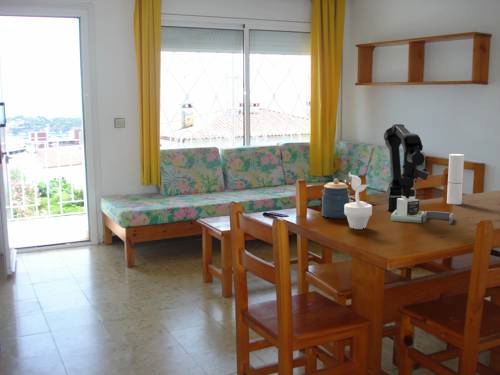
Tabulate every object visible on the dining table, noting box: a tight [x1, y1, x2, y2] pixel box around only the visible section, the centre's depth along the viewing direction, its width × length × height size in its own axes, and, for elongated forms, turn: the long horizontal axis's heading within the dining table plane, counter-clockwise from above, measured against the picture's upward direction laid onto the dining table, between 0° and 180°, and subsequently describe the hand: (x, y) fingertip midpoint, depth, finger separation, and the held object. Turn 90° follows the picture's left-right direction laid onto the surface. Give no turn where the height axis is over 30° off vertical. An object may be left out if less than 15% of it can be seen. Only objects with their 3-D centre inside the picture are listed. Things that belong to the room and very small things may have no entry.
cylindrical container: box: [446, 153, 465, 205], centre depth 303 cm, size 7×7×25 cm
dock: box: [422, 210, 454, 225], centre depth 265 cm, size 12×11×3 cm
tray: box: [390, 210, 425, 224], centre depth 269 cm, size 13×13×2 cm
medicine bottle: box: [397, 187, 420, 216], centre depth 268 cm, size 7×7×12 cm
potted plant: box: [344, 171, 373, 230], centre depth 250 cm, size 13×12×25 cm
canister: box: [321, 178, 351, 219], centre depth 275 cm, size 13×13×18 cm
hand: (408, 197), depth 268 cm, fingers closed on medicine bottle, 6 cm apart
